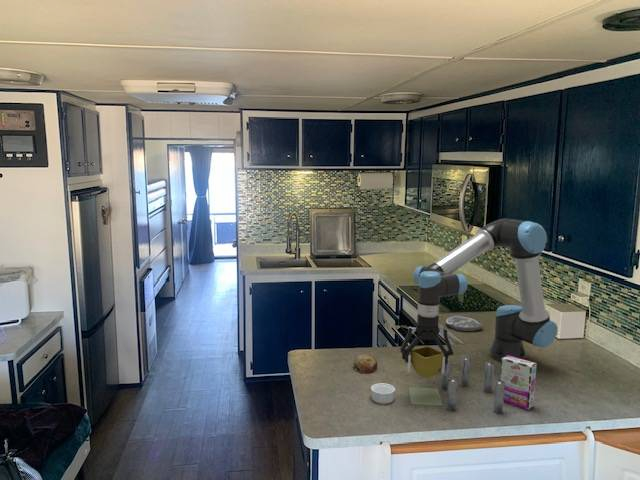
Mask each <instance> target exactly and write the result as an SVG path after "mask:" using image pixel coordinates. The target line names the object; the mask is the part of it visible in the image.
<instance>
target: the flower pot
mask: <svg viewBox="0 0 640 480" xmlns="http://www.w3.org/2000/svg"><path fill="white" fill-rule="evenodd" d="M410 354H411V362H410V363H411V365H412V368H413V370H414V371H415V373H416V374H417V375H419V376H420V377H422V378H423V379H427V378H431V377H434V376H436V375H437V374H438V373H439V370H440V367H441V364H442V358H443V354H444V353H443V352H442V351H439V350H437V349H435V348H433V347H431V346H429V345H426V346H422V347H417V348H413V349H412V351H411V352H410Z"/></svg>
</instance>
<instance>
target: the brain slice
mask: <svg viewBox="0 0 640 480" xmlns="http://www.w3.org/2000/svg"><path fill="white" fill-rule="evenodd" d="M445 323H446V324H447V326H449V327H450V328H451V329H454V330H456V331H459V332H467V331H469V332H471V331H472V332H477V331H480V330H481V329H482V328H483V327H484V324H483V323H480V322H478V321H477V320H476V319H473V318H471V317H465V316H462V315H451V316H449V317H448V316H447V318H446V320H445ZM469 332H468V333H469Z"/></svg>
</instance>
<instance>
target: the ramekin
mask: <svg viewBox="0 0 640 480" xmlns="http://www.w3.org/2000/svg"><path fill="white" fill-rule="evenodd" d="M370 390H371V399H372V400H373V402H376V403H377V404H381V405H385V404H387V405H388V404H390V403H392V402H394V399H395V392H396V388H395V386H393V385H392V384H390V383H383V382H380V383H374V384H372V385H371V387H370Z"/></svg>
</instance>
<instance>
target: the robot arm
mask: <svg viewBox="0 0 640 480" xmlns="http://www.w3.org/2000/svg"><path fill="white" fill-rule="evenodd" d="M547 237H548V235H547V232H546V230H545V228H544V227H543V226H542V225H541V224H539V223H537V222H533V221H530V220H519V219H513V218H501V219H497V220H494V221H492V222H490V223H488V224H486V225H484V226H483V227H481V228H479V229H478V230H477V231H476V232H475V234H474V235H473V236H471V237H470V238H469V239H467V240H465V241H464V242H463V243H461V244H460V245H458V246H457V247H456V248H453V249H452V250H450V251H449V252H448V253H445V254H444V255H443V256H442V257H440V258H438V259H437V260H435V261H434V262H432V263H431V264H430V265H427V266H426V265H425V266H424V265H423V266H422V265H420V266H417V267H416V268H415V269H414V271H413V274H412V278H413V280H414V282H415V283H416V284H417V285H418V290H417V291H418V294H417V295H418V296H417V297H418V299H417V313H418V314H417V317H416V319H417V321H416V327H412V326H408V327H407V333H406V335H405V338H404V340H403V342H402V344H401V346H400V348H399V351H400V353H401V354H402V353H404V354H405V359H404V363H406V364H407V373H411V363H412V362H411V354H410V352H411V351H412V349H415V347H416V346H417V344H418V343H420V342H421V341H432V340H433V341H434V342H435V343H436V345H437V346H438V348H439V349H440V350H441V351H440V352H441V353H443V358H442V364H441V375H442V374H444V368H445V364H446V365H447V364H448V360H449V356H453V355H454V352H453V351H454V350H453V349H452V346H451V342H450V340H449V338H448V329H447V328H446V327H443V328H439V321H440V319H439V318H440V317H439V315H440V303H441V302H440V301H441V298H443V297H452V296H458V295H461V294H464V293H465V292H466V291H467V289H468V279H467V278H466V276H465V275H463V274H462V273H455V272H457V271H458V270H459V269H461V268H462V267H464V266H466V265H467V264H469V262H471V261H473V260H474V259H476V258H477V257H479V256H480V255H481V254H483V253H484V252H486V251H492V250H493V249H494V248H497V247H498V248H499V247H504V248H507V249H509V255H510V257H511V258H512V259H513V260H515V267H516V276H517V282H518V288H519V296H520V302H521V303H520V305H516V304H506V305H500V306H499V307H497V309H496V315H495V328H494V339H493V341H492V343H491V346H490V349H489V356H490V357H491V358H492V359H494V360H496V361H499V362H501V361H502V358H503V357H505V356H507V355H509V356H513V357H516V358H520V359H523V360H526V358H527V353H526V348H525V346H524V342H525V343H529V344H531V345H533V346H535V347H539V348H542V349H543V348H546V347H549V346H550V345H551V344H552V343H554V341H555V339H556V338H557V335H558V330H559V327H558V324H557V323H556V322H554V321H553V320H551V318H550V313H549V310H547V309H545V302H544V294H543V293H544V292H543V287H542V286H543V285H542V277H541V270H540V260H539V257H540V256H541V255H542V253H543V251H544V250H545V248H546V244H547V242H548V238H547ZM453 273H454V274H453ZM415 332H416V334H417V335H416V336H415V338H413V339H412V341H411V342H410V344H409V341H410V339H411V337H412V335H413V334H414V333H415ZM439 333H440V335H442V336H443V338H444V341H445V344H446V347H447V349H448V350H447V349H446V348H445V346H444V345H443V344H442V342H441V340H440V339H439V338H438V335H439Z"/></svg>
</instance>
